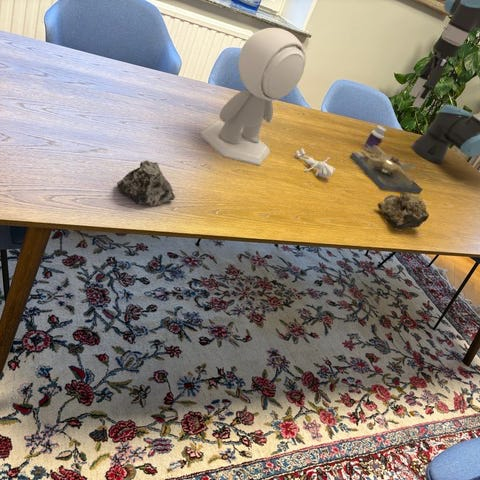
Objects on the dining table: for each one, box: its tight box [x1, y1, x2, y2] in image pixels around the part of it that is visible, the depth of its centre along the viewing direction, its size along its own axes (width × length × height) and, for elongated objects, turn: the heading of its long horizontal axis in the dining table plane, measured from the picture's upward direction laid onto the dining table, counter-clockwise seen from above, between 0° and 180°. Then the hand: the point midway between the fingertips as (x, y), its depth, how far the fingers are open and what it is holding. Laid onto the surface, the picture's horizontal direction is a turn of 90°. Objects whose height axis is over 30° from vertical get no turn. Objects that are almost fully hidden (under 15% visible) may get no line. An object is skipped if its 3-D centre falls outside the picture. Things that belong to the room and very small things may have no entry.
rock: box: [116, 159, 176, 207], centre depth 99 cm, size 13×10×10 cm
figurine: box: [294, 148, 336, 179], centre depth 143 cm, size 12×5×15 cm
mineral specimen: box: [377, 192, 430, 231], centre depth 135 cm, size 14×13×10 cm
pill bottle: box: [362, 125, 387, 154], centre depth 177 cm, size 5×5×10 cm
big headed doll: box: [199, 27, 306, 166], centre depth 127 cm, size 20×23×35 cm
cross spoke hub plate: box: [349, 150, 423, 195], centre depth 163 cm, size 20×20×3 cm
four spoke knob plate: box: [367, 145, 416, 185], centre depth 161 cm, size 22×22×4 cm
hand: (414, 100), depth 161 cm, fingers open, 13 cm apart
